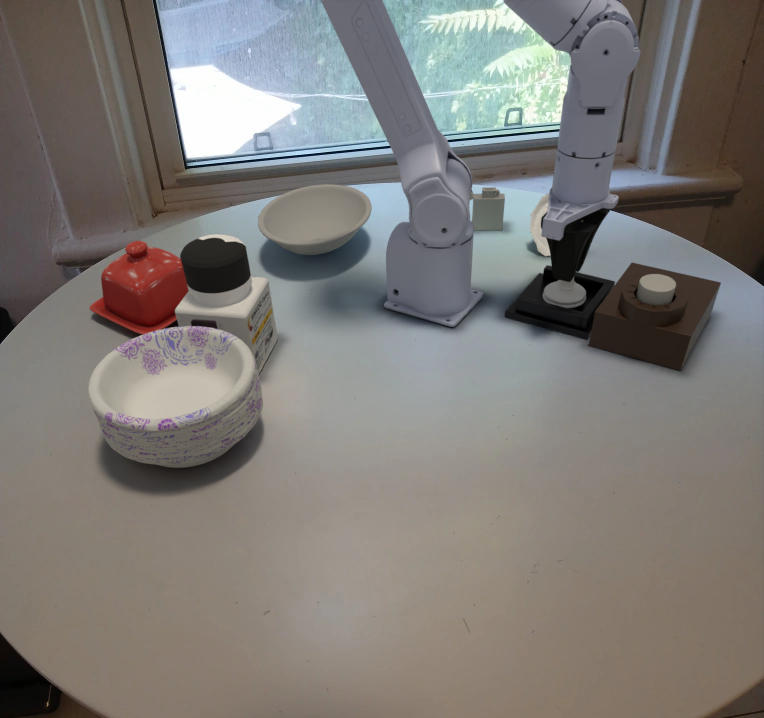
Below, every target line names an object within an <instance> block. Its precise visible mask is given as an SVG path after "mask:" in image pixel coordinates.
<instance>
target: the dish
mask: <svg viewBox="0 0 764 718" xmlns="http://www.w3.org/2000/svg"><path fill="white" fill-rule="evenodd" d="M372 208H373V205H372V202H371V199H370V198H369V196H367V194H365V193H364V192H363V191H361V190H359V189H357V188H354V187H352V186H348V185H342V184H335V183H334V184H333V183H331V184H330V183H329V184H327V183H323V184H313V185H308V186H303V187H299V188H296V189H293V190H289V191H288V192H285V193H283V194H281V195H279V196H277V197H275V198H273V199H272V200H270V202H268V203H267V204H266V205H265V206H264V207H263V208H262V209H261V211H260V213H259V215H258V218H257V227H258V229H259V232H260V233H261V234H262V235H263V236H264V237H265V238H266V239H268V240H270V241H272V242H274V243H276V244H277V245H278V246H279V247H281V248H283V249H284V250H286V251H289V252H291V253H294V254H298V255H304V256H316V255H322V254H327V253H330V252H333V251H335V250H337V249H339V248H341V247H342V246H344V245H345V244H346V243H348V242H349V241H350V240H351V239H353V237H354V236H355V235H356V234H357V233H358V231H359V230H360V229H361V228H362V227H363V226H364V225H365V224H366V223H367V221H368V220H369V219H370V217H371V214H372V210H373V209H372Z"/></svg>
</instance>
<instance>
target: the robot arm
mask: <svg viewBox="0 0 764 718" xmlns="http://www.w3.org/2000/svg"><path fill="white" fill-rule="evenodd" d="M502 1H503V3H504V5H506V6H507V7H508V8H509V9H510V10H511V11H512V12H513V13H514V14H516V15H517V16H518V18H519V19H521V20H522V21H523V22H524V23H525V24H526V25H527V26H529V28H531V29H532V30H533V31H534V32H535V33H536V34H537V35H539V36H540V38H542V39H543V40H544V41H545V42H546V43H547V44H548V45H549V46H550V47H552V48H553V50H555V51H560V52H564V53H567V54H568V56H569V57H570V65H569V70H568V78H567V85H566V91H565V94H564V96H563V99H562V106H561V107H562V108H561V115H560V123H559V130H558V138H557V146H556V153H555V160H554V162H555V163H554V168H553V169H554V170H553V177H552V186H551V188H550V189H549V193H548V194H549V201H548V211H547V212H546V213H545V214H544V215H543V217H542V218H541V228H542V234H541V236H542V237H545V238H546V239H547V242H548V245H549V250H550V256H549V257H550V266H552V273H553V278H554V279H558V280H562V281H566V282H571V280H572V279H573V277H574V275H575V273H576V272H578V273H580V271H581V270H582V268H583V265H584V263H585V261H586V259H587V256H588V253H589V251H590V248H591V245H592V243H593V240H594V238H595V236H596V234H597V232H598V229H599V228H600V227H601V224H602V223H603V221H604V220H605V219H606V217H607V216H608V214H609V213H610V212H611V209H614V208H615V207H616V206H617V205H618V203H619V199H620V198H619V195H617V194H614V193H611V192H610V183H611V178H612V173H613V168H614V163H615V162H614V161H615V156H616V151H617V145H618V140H619V135H620V131H621V130H620V129H621V123H622V118H623V114H624V108H625V102H626V97H625V92H626V89H627V85H628V82H629V81H628V77H629V76H630V75H631V74H632V72H633V71H634V70H635V68H636V66H637V64H638V62H639V59H640V57H641V53H642V51H641V50H640V49H639V48H640V37H639V34H638V29H637V26H636V24H635V22H634V20H633V18H632V16H631V14H630V12H629V10H628V8H626V6H625V5H624V4H623V1H622V0H502ZM320 2H321V3H322V7H323V9H324V10H325V12H326V15H327V17H328V19H329V21H330V23H331V25H332V27H333V29H334V31H335V34H336V36H337V37H338V40H339V42H340V44H341V46H342V49H343V51H344V52H345V54H346V57H347V58H348V61H349V63H350V65H351V67H352V69H353V71H354V73H355V76H356V77H357V80H358V82H359V85H360V86H361V88H362V90H363V92H364V94H365V97H366V98H367V99H366V100H367V101H368V103H369V105H370V107H371V109H372V111H373V113H374V115H375V117H376V119H377V121H378V124H379V127H380V129H381V130H382V132H383V135H384V136H385V139H386V141H387V143H388V145H389V147H390V149H391V150H392V153H393V155H394V158H395V160H396V163H397V167H398V173H399V177H400V179H399V180H400V182H401V183H400V184H401V188H402V191H403V193H404V195H405V197H406V200H407V204H408V208H409V209H408V221H401V222H399V223H398V224H397V225H395V227H394V228H393V230H392V231H391V233H390V236H389V237H388V241H387V244H386V245H387V246H386V251H385V268H386V270H385V271H386V272H385V273H386V297H387V300H386V301H385V302H384V304H383V305H384V308H385V309H388V310H391V311H395V312H398V313H401V314H404V315H409V316H412V317H416V318H419V319H423V320H426V321H430V322H432V323H433V322H434V323H437V324H439V325H444V326H447V327H451V328H452V327H453V328H454V327H456V326H457V325H458V324H459V323H460V322H461V321H462V320H463V319H464V318H465V316H467V314H468V313H470V311H471V310H472V309H473V308H474V307H475V306H476V305H477V304H478V303H479V302H480V301H481V299H483V298H484V292H483V291H480V290H476V289H473V288H472V271H473V252H474V235H475V234H474V233H475V230H474V226H473V224H472V220H471V211H470V205H471V204H470V202H471V200H470V194H471V189H472V190H473V175H472V172H471V169H470V168H469V167H468V164H467V163H466V162H465V161H464V160H463V159H461V158H460V157H459V156H457V155H456V153H455V152H454V151H453V149H452V148H451V146H450V143H449V141H448V138H447V137H446V136H445V135H444V134H443V133H442V132H441V131H440V130H439V129H438V126H437V124H436V121H435V120H434V117H433V114H432V113H431V110H430V108H429V106H428V103H427V101H426V98H425V96H424V94H423V91H422V89H421V87H420V85H419V82H418V79H417V77H416V75H415V73H414V70H413V68H412V66H411V64H410V61H409V59H408V56H407V54H406V52H405V49H404V47H403V45H402V43H401V40H400V38H399V36H398V33H397V31H396V28H395V26H394V24H393V22H392V19H391V17H390V15H389V12H388V9H387V7H386V5H385V3H384V0H320ZM582 220H583V222H582Z"/></svg>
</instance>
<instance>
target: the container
mask: <svg viewBox="0 0 764 718" xmlns="http://www.w3.org/2000/svg"><path fill="white" fill-rule="evenodd" d="M179 258H180V259H181V262H182V266H183V270H184V274H185V278H186V282H187V286H188V290H189V291H188V293H187V294H186V295H185V297H184V298H183V299H182V301H181V302H180V303H179V305H178V306H177V307H176V309H175V314H176V318H177V320H176V321H177V324H178V327H182V326H202V327H210V328H215V329H219V330H223V331H226V332H228V333H231V334H232V335H234V336H236V337H238V338H239V339H241V340H242V341H243V342H244V343H245V344H246V345H247V346H248V347H249V349H250V350H251V352H252V354H253V356H254V359H255V362H256V369H257V372H258V375H260V372H261V370H263V367H264V365H265V364H266V361H267V360H268V358H269V356H270V354H271V352H272V350H273V348H274V347H275V345H276V343H277V341H278V339H279V337H278V332H277V331H278V330H277V324H276V319H275V312H274V306H273V300H272V295H271V288H270V281H269V279H268V278H267V277H263V276H252V272H251V268H250V262H249V257H248V251H247V246H246V244H245V242H243V241H242V240H240V239H239V238H238V237H236V236H233V235H228V234H218V233H217V234H216V233H215V234H207V235H203V236H200V237H197V238H195V239H194V240H191V241H190V242H188V243H187V244H186V245H184V247H183V248H182V250H181V252H180V254H179Z"/></svg>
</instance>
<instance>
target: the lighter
mask: <svg viewBox="0 0 764 718" xmlns="http://www.w3.org/2000/svg"><path fill="white" fill-rule="evenodd" d="M470 201H472V215H471V222H472V224H473V226H474V231H503V227H504V217H505V215H504V214H505V203H506V194H505V193H501V192H500V190H499V189H497V188H496V187H482V188H481V193H474V191H473V188H472V189H471V194H470Z"/></svg>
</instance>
